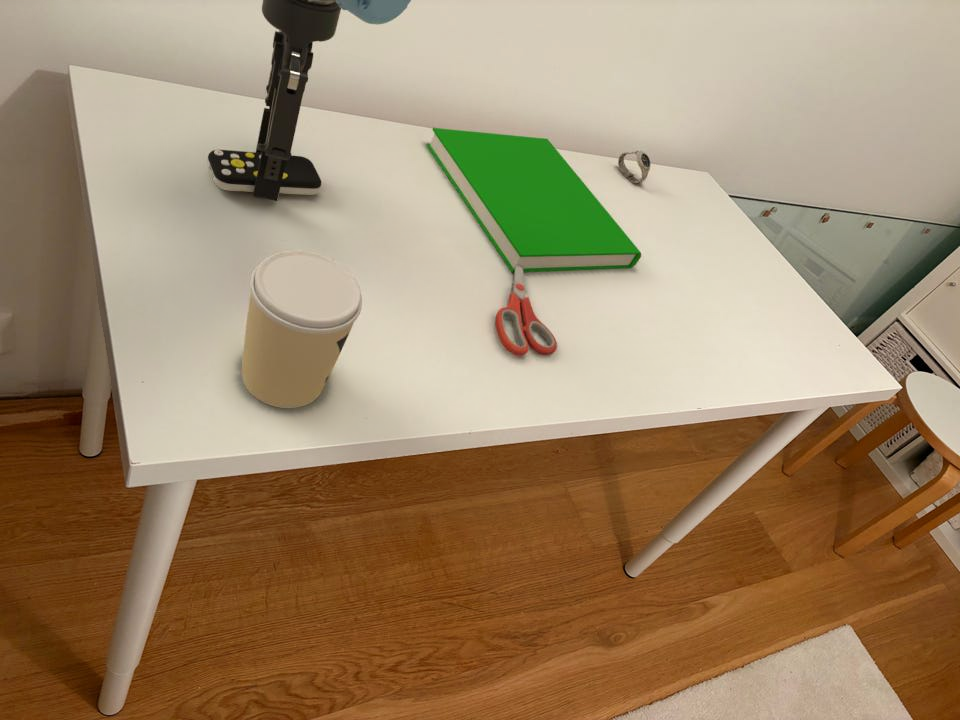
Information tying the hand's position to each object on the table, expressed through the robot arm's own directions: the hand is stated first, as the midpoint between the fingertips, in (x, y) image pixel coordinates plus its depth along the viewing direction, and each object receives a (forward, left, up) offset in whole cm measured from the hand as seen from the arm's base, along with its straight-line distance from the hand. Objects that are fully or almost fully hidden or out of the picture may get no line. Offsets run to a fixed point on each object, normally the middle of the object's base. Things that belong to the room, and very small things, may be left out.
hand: (265, 177), depth 87 cm
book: (+38, +8, -1) cm, 39 cm away
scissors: (+30, -14, -1) cm, 33 cm away
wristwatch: (+62, +25, -1) cm, 67 cm away
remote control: (0, 0, -1) cm, 1 cm away
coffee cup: (+2, -31, -1) cm, 31 cm away
